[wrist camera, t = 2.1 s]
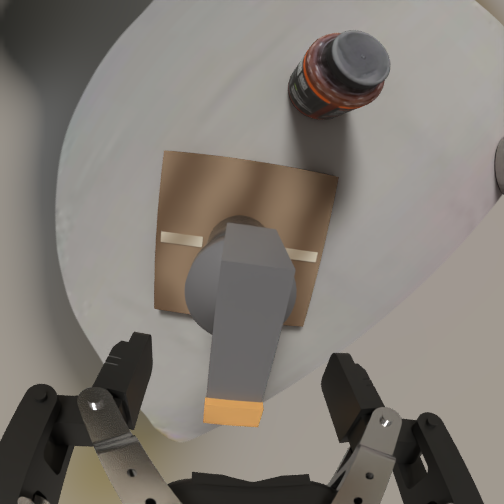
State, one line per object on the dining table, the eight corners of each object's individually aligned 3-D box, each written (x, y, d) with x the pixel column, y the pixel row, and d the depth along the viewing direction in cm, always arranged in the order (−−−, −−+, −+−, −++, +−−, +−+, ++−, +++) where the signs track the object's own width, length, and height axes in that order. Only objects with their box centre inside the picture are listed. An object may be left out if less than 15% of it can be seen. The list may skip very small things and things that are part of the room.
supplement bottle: (357, 94, 24) (419, 68, 13) (320, 132, 25) (371, 122, 15) (312, 53, 22) (354, 3, 12) (273, 91, 24) (296, 51, 13)
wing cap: (195, 210, 18) (161, 257, 10) (303, 226, 19) (350, 281, 11) (185, 329, 21) (164, 416, 13) (277, 340, 21) (295, 427, 13)
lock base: (333, 175, 27) (373, 186, 18) (300, 319, 32) (319, 372, 23) (168, 150, 25) (135, 150, 17) (157, 301, 30) (133, 352, 22)
